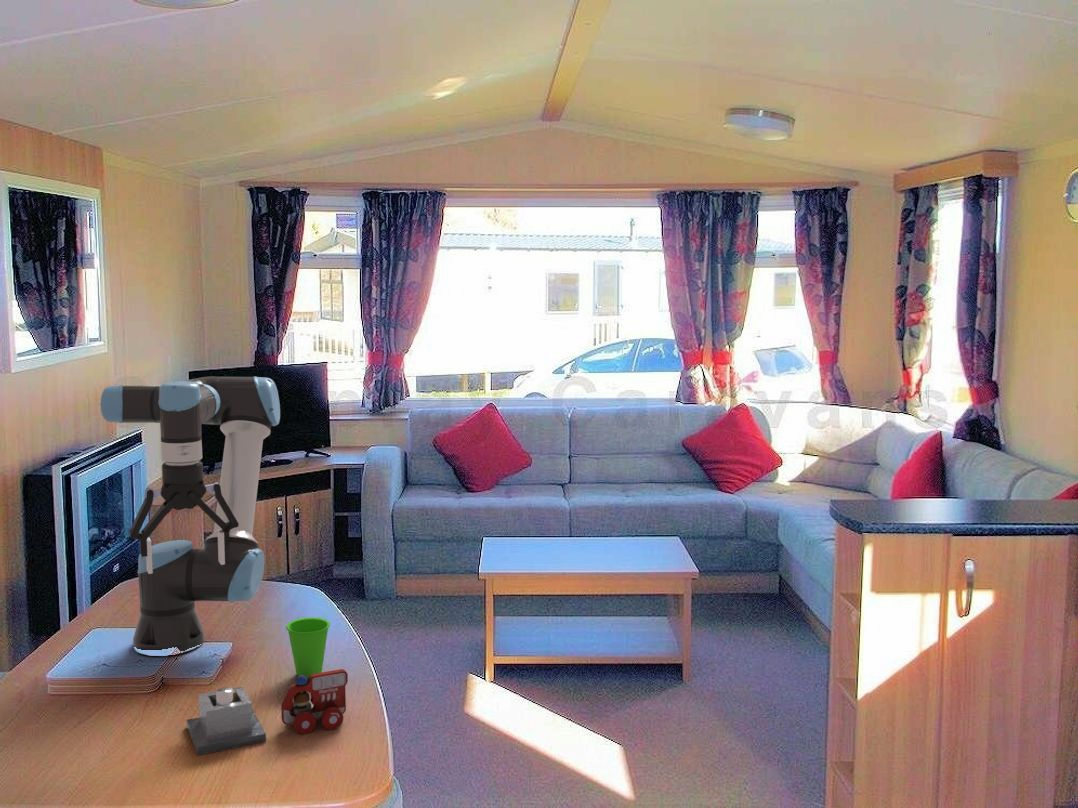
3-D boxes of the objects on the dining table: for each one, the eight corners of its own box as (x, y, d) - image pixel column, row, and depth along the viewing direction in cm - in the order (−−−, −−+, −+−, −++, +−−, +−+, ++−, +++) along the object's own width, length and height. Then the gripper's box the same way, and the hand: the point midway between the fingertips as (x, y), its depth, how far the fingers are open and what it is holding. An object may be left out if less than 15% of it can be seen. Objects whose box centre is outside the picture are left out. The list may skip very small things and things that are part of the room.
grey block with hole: (199, 722, 190) (198, 694, 190) (243, 713, 194) (242, 686, 193) (207, 740, 183) (206, 711, 183) (252, 731, 187) (251, 702, 186)
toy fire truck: (279, 722, 194) (277, 670, 193) (343, 711, 199) (343, 661, 197) (284, 738, 188) (283, 684, 186) (351, 727, 193) (350, 675, 191)
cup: (320, 685, 211) (319, 634, 209) (279, 680, 213) (278, 630, 211) (337, 668, 220) (336, 619, 218) (298, 664, 221) (297, 615, 220)
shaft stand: (186, 727, 191) (185, 684, 190) (251, 714, 197) (250, 673, 196) (197, 755, 181) (196, 710, 180) (266, 741, 187) (264, 697, 185)
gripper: (115, 471, 189) (120, 581, 192) (251, 460, 201) (254, 564, 204) (111, 463, 196) (116, 570, 199) (243, 453, 207) (246, 554, 210)
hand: (186, 567), depth 201 cm, fingers open, 13 cm apart
